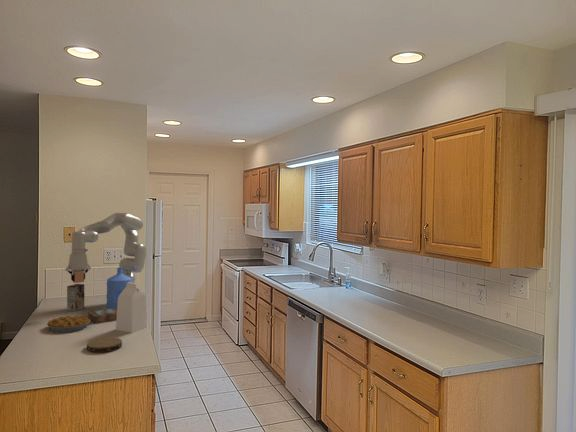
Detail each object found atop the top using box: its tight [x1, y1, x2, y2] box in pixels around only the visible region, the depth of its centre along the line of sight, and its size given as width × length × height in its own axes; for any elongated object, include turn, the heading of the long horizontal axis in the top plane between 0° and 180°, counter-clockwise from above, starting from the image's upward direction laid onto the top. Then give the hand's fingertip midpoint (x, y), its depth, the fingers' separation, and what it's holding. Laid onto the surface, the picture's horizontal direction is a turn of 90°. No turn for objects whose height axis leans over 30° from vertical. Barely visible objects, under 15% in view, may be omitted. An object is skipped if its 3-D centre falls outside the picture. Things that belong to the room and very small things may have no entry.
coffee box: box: [66, 283, 85, 312], centre depth 288 cm, size 9×6×16 cm
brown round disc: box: [86, 336, 123, 354], centre depth 216 cm, size 16×16×3 cm
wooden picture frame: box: [87, 308, 117, 324], centre depth 268 cm, size 16×14×4 cm
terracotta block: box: [73, 270, 85, 284], centre depth 271 cm, size 5×5×7 cm
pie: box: [46, 315, 91, 333], centre depth 248 cm, size 22×22×5 cm
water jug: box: [105, 267, 132, 309], centre depth 288 cm, size 16×16×28 cm
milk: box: [115, 282, 148, 334], centre depth 248 cm, size 12×12×26 cm
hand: (78, 280), depth 271 cm, fingers closed on terracotta block, 5 cm apart
